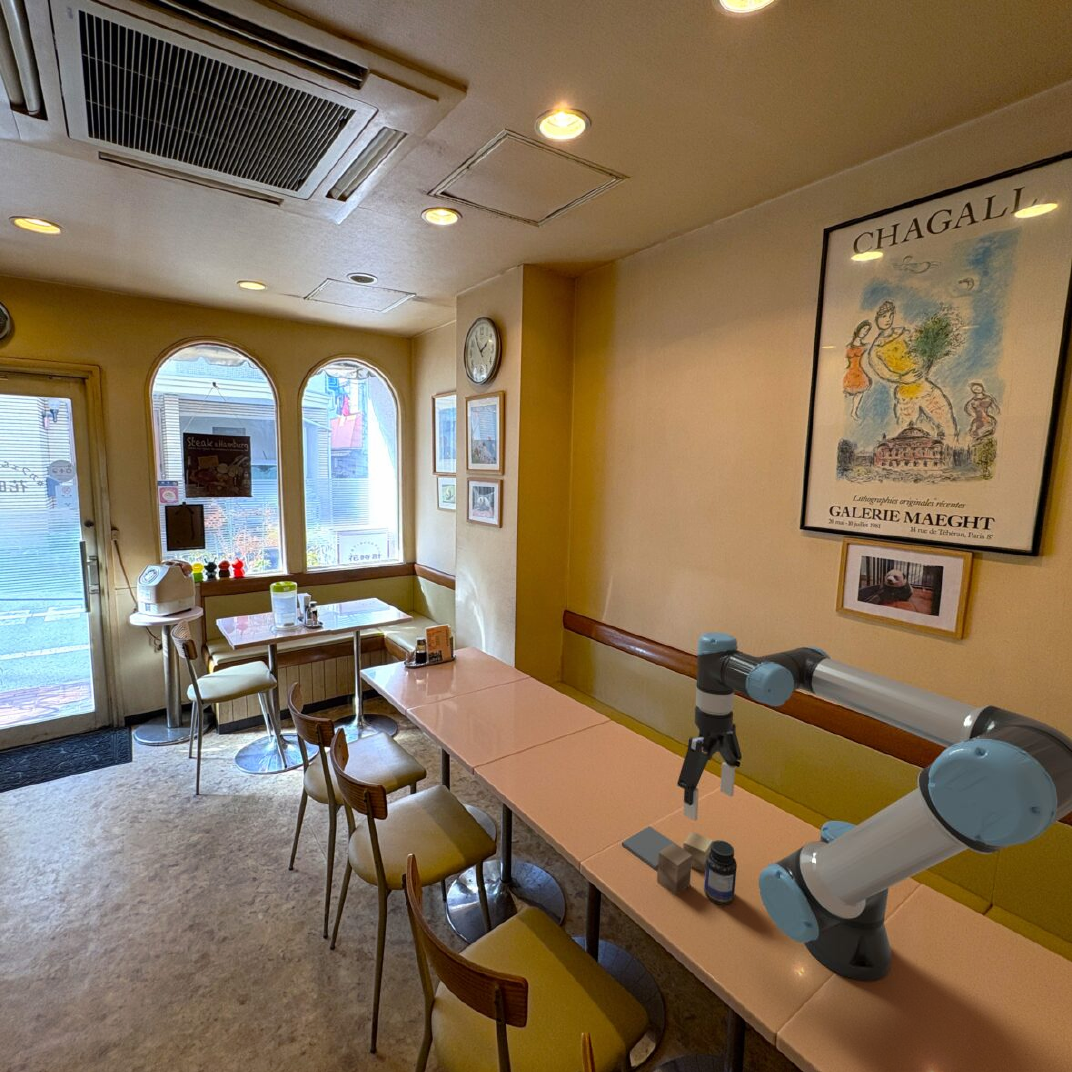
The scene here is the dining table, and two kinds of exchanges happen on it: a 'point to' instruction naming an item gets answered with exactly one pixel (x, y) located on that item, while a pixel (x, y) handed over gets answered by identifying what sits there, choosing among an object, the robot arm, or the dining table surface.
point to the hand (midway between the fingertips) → (709, 805)
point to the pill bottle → (720, 873)
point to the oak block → (698, 849)
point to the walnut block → (674, 868)
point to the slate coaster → (647, 845)
